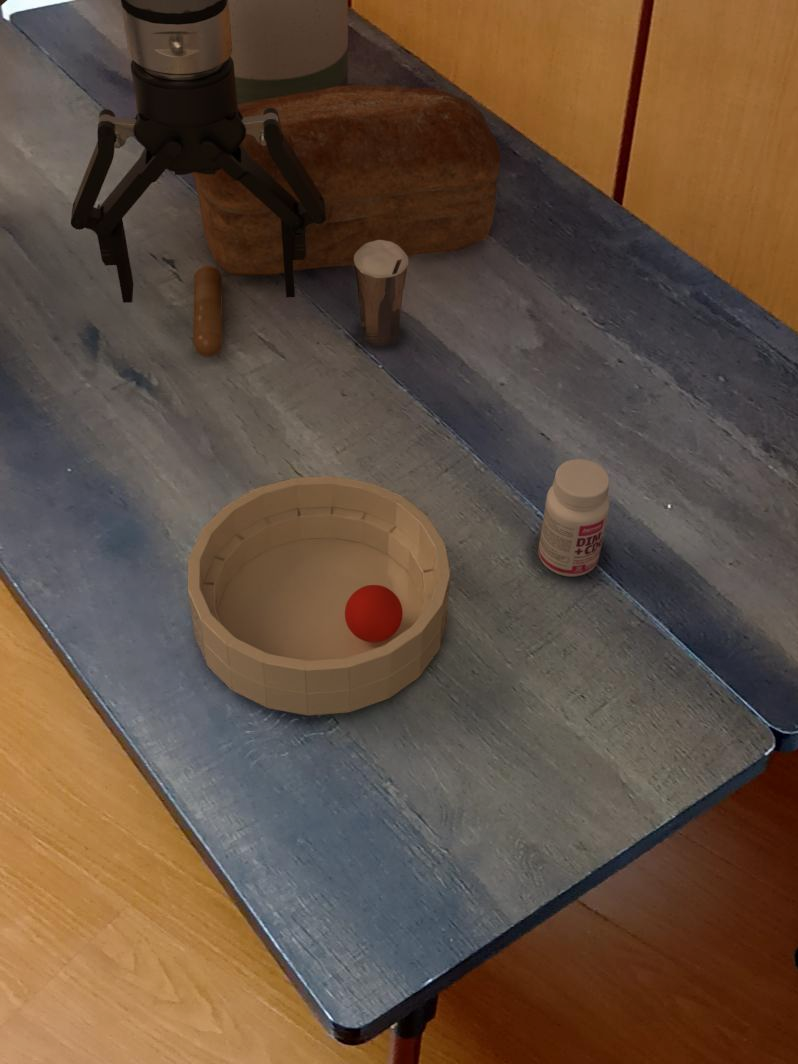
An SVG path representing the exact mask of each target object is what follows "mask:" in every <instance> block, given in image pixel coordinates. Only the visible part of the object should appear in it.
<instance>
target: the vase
mask: <svg viewBox="0 0 798 1064" xmlns="http://www.w3.org/2000/svg"><path fill="white" fill-rule="evenodd" d="M228 4H229V16H230V27H231V38H232V54H231V58H232V60H233V63H234V72H235V83H236V94H237V104H240V103H245V102H251V101H256V100H262V99H268V98H275V97H281V96H286V95H291V94H298V93H306V92H312V91H317V90H321V89H326V88H331V87H336V86H348V79H349V77H348V76H349V0H228Z"/></svg>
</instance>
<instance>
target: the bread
mask: <svg viewBox="0 0 798 1064" xmlns="http://www.w3.org/2000/svg"><path fill="white" fill-rule="evenodd" d="M237 105H238V109H239V111H240V113H241V115H242V116H243V117H251V116H260V115H263V112H264V110H266V109H267V108H274V109H276V110H277V112H278V114H279V119H280V124H281V129H282V133H283V135H284V136H285V138H286V140H287V141H288V143H289V144H290V146H291V148H292V149H293V151H294V152H295V154H296V156H297V157H298V159H299V160H300V162H301V163H302V165H303V167H304V168H305V170H306V171H307V173H308V175H309V176H310V178H311V179H312V181H313V183H314V184H315V186H316V187H317V189H318V190H319V192H320V194H321V195H322V197H323V198H324V201H325V211H326V220H325V222H323V223H322V224H316V223H311V224H309V225H308V226H307V227H306V228H305V242H306V256H305V259H304V260H293V272H296V271H303V270H311V269H320V268H328V267H337V266H338V267H339V266H340V267H341V266H355V264H354V255H355V253H356V252H357V251H358V250H359V249H360V248H361V247H362V246H363V245H364V244H366V243H368V242H373V241H376V240H385V241H390V242H393V243H395V244H396V245H398V246H399V247H400V248H401V249H402V250H403V251H404V252H405V253H406V255H407V257H408V256H416V255H422V254H432V253H433V254H435V253H446V252H448V253H449V252H453V251H456V250H457V251H458V250H461V249H464V248H468V247H471V246H474V245H476V244H479V243H481V242H483V241H484V240H486V239H487V238H488V237H489V233H490V229H491V226H492V222H493V219H494V218H493V217H494V213H495V204H496V195H497V194H496V193H497V184H498V179H499V173H500V164H501V150H500V146H499V144H498V141H497V139H496V137H495V136H494V133H493V132H492V129H491V128H490V126H489V124H488V122H487V120H486V119H485V116H484V115H483V112H482V111H481V110H480V109H479V108H477V107H476V105H474V104H473V103H472V102H471V101H469V100H467V99H465V98H463V97H462V96H461V97H460V96H458V95H455V94H454V93H450V92H447V91H444V90H441V89H438V88H435V87H426V88H425V87H424V88H416V87H415V88H414V87H408V86H403V85H402V86H401V85H400V86H399V85H395V86H394V85H372V86H371V85H356V84H355V85H347V86H336V87H331V88H326V89H321V90H317V91H312V92H306V93H298V94H291V95H286V96H281V97H275V98H268V99H262V100H256V101H251V102H245V103H240V104H237ZM240 145H241V146H242V147H244V149H245V150H246V151H247V153H248V155H249V156H250V157H251V158H252V159H253V160H254V161H255V162H256V163H257V164H258V165H259V166H260V167H262V168H263V169H264V170H265V171H266V172H267V173H268V174H269V175H270V176H271V177H272V178H273V179H274V180H275V181H276V182H278V183H279V184H280V185H281V186H282V187H283V188H284V189H285V190H286V191H287V192H288V193H289V194H290V195H291V196H293V197H294V198H295V199H296V200H297V201H298V202H299V203H300V204H301V202H300V201H299V199H298V198H297V196H296V195H295V193H294V192H293V190H292V189H291V187H290V185H289V184H288V182H287V181H286V179H285V178H284V176H283V175H282V173H281V172H280V170H279V168H278V167H277V165H276V164H275V162H274V161H273V159H272V157H271V156H270V153H269V151H268V148H267V145H266V146H262V145H261V144H259V143H258V142H257V141H256V139H255V137H254V136H252V135H248V134H247V135H246V136H245V138H244V140H243V141H242V143H241V144H240ZM191 174H192V176H193V179H194V182H195V186H196V192H197V198H198V206H199V211H200V218H201V222H202V224H201V225H202V228H203V229H202V230H203V233H204V237H205V241H206V245H207V247H208V249H209V251H210V253H211V255H212V257H213V259H214V261H215V263H216V265H217V266H218V267H220V268H222V269H223V270H224V271H226V272H227V273H229V274H230V275H235V276H252V277H253V276H254V277H255V276H256V277H257V276H259V277H260V276H273V275H279V274H285V272H284V258H283V244H282V229H281V219H280V218H279V217H278V216H277V215H276V214H275V213H273V212H272V211H271V210H270V209H269V208H268V207H267V206H266V205H265V204H264V203H262V202H261V201H260V200H259V199H258V198H257V197H256V196H255V195H254V194H253V193H251V192H250V191H249V190H248V189H247V188H246V187H245V186H244V185H243V184H242V183H241V182H239V181H235V180H234V179H232V178H231V177H230V176H229V175H228V174H227V173H226V172H225V171H224V170H222V169H220V170H218V171H215V174H201V173H196V172H193V173H191Z"/></svg>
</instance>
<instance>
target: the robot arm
mask: <svg viewBox="0 0 798 1064" xmlns="http://www.w3.org/2000/svg"><path fill="white" fill-rule="evenodd" d="M7 1H8V0H0V7H2V6H3V5H4V4H5V3H6V2H7ZM120 3H121V11H122V19H123V24H124V31H125V38H126V39H125V40H126V45H127V52H128V55H129V56H130V58H131V63H130V72H131V77H132V84H133V91H134V99H135V105H136V110H137V112H136V115H135V117H134V118H133V117H121V116H116V114H115V112H114V111H112V110H111V109H107V108H105V109H102V110H101V111H99V114H98V121H97V123H98V124H97V132H96V133H97V134H96V135H97V141H96V144H95V147H94V150H93V152H92V154H91V157H90V160H89V162H88V165H87V166H86V170H85V172H84V174H83V177H82V180H81V182H80V185H79V187H78V190H77V193H76V195H75V198H74V200H73V203H72V208H71V215H70V226H71V227H72V228H73V229H74V230H79V231H81V230H84V229H88V230H91V231H93V232H94V233H95V234H96V236H97V237H96V238H97V241H98V247H99V251H100V252H99V253H100V257H101V261H102V263H103V264H104V266H107V267H108V266H115V267H116V271H117V277H118V282H119V283H118V284H119V289H120V293H121V294H120V295H121V299H122V303H123V304H128V303H129V304H131V303H133V297H134V278H133V272H132V266H131V261H130V255H129V249H128V248H129V247H128V244H127V243H128V242H127V237H126V230H125V226H124V225H125V224H124V219H123V218H124V217H125V216H126V215H127V213H128V212H129V211H130V210H131V208H132V207H133V206H134V205H135V204H136V203H137V202H138V200H139V199H140V198H141V197H142V195H143V194H144V193H145V192H146V191H147V189H148V188H149V187H150V186H151V185H152V183H155V182H157V181H158V179H160V177H161V176H162V175H163V174H164V172H165V171H166V170H168V171H170V172H173V173H174V175H175V176H187V175H189V174H192V173H193V172H196V173H201V174H215V171H218V170H220V169H222V170H224V171H225V172H226V173H227V174H228V175H229V176H230V177H231V178H232V179H234V180H235V181H239V182H241V183H242V184H243V185H244V186H245V187H246V188H247V189H248V190H249V191H250V192H251V193H253V194H254V195H255V196H256V197H257V198H258V199H259V200H260V201H261V202H262V203H264V204H265V205H266V206H267V207H268V208H269V209H270V210H271V211H272V212H273V213H275V214H276V215H277V216H278V217H279V218H280V219H281V229H282V244H283V258H284V285H285V286H284V287H285V297H286V299H287V298H296V291H295V288H296V287H295V276H294V273H295V272H294V271H293V260H304V259H305V256H306V242H305V228H306V227H307V226H308V225H309V224H311V223H316V224H322V223H323V222H325V220H326V211H325V201H324V198H323V197H322V195H321V194H320V192H319V190H318V189H317V187H316V186H315V184H314V183H313V181H312V179H311V178H310V176H309V175H308V173H307V171H306V170H305V168H304V167H303V165H302V163H301V162H300V160H299V159H298V157H297V156H296V154H295V152H294V151H293V149H292V148H291V146H290V144H289V143H288V141H287V140H286V138H285V136H284V135H283V133H282V129H281V124H280V119H279V114H278V112H277V110H276V109H274V108H267V109H266V110H264V112H263V115H260V116H251V117H243V116H242V115H241V113H240V111H239V109H238V105H237V94H236V83H235V72H234V63H233V60H232V58H231V54H232V38H231V27H230V16H229V4H228V0H120ZM247 134H248V135H252V136H254V137H255V139H256V141H257V142H258V143H259V144H261V145H262V146H266V145H267V148H268V151H269V153H270V156H271V157H272V159H273V161H274V162H275V164H276V165H277V167H278V168H279V170H280V172H281V173H282V175H283V176H284V178H285V179H286V181H287V182H288V184H289V185H290V187H291V189H292V190H293V192H294V193H295V195H296V196H297V198H298V199H299V201H300V202H301V204H300V203H299V202H298V201H297V200H296V199H295V198H294V197H293V196H291V195H290V194H289V193H288V192H287V191H286V190H285V189H284V188H283V187H282V186H281V185H280V184H279V183H278V182H276V181H275V180H274V179H273V178H272V177H271V176H270V175H269V174H268V173H267V172H266V171H265V170H264V169H263V168H262V167H260V166H259V165H258V164H257V163H256V162H255V161H254V160H253V159H252V158H251V157H250V156H249V155H248V153H247V151H246V150H245V149H244V147H242V146H241V145H240V144H241V143H242V141H243V140H244V138H245V136H246V135H247ZM131 137H134V138H135V139H136V141H137V142H138V143H139V144H140V145H141V146H142V147H143V148H144V149H143V151H142V152H141V155H140V156H139V158H138V159H137V161H136V162H135V163H134V164H133V165H132V166H131V168H130V169H129V170H128V172H127V173H126V174H125V175H124V177H122V179H121V180H120V181H119V183H117V185H116V186H115V187H114V188H113V190H112V191H111V192H110V194H109V195H108V196H107V197H106V198H105V199H104V201H103V202H102V203H101V204H100V203H98V204H97V207H95V205H96V203H97V201H98V198H99V195H100V192H101V190H102V188H103V185H104V182H105V180H106V178H107V176H108V173H109V171H110V168H111V165H112V163H113V161H114V156H115V150H116V149H120V148H122V147H124V146H125V144H126V143H127V139H128V138H131Z"/></svg>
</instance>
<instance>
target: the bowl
mask: <svg viewBox="0 0 798 1064" xmlns="http://www.w3.org/2000/svg"><path fill="white" fill-rule="evenodd" d="M193 545H194V546H193V548H192V550H191V552H190V554H189V557H188V560H187V595H188V601H189V607H190V612H191V613H190V614H191V621H192V627H193V634H194V635H193V636H194V638H195V640H196V643H197V645H198V648H199V650H200V652H201V655H202V657H203V659H204V661H205V664H206V665H207V667H208V668H209V669H210V670H211V672H213V673H214V674H215V675H216V676H217V678H219V679H220V681H222V682H223V683H224V684H225V685H226V686H227V687H228V688H229V689H230V690H231V691H233V692H235V693H236V694H238V695H240V696H243V697H244V698H246V699H249V700H251V701H253V702H254V703H257V704H259V705H260V706H262V707H264V708H267V709H270V710H275V711H281V712H286V713H291V714H297V715H303V716H320V715H332V714H345V713H350V712H354V711H358V710H361V709H363V708H366V707H369V706H372V705H375V704H378V703H380V702H383V701H386V700H388V699H390V698H392V697H393V696H395V695H396V694H398V693H399V692H400V691H402V690H403V689H405V688H406V687H407V686H409V685H410V684H412V683H413V682H414V681H416V680H417V679H419V677H420V676H421V675H422V674H423V672H424V671H425V670H426V668H427V667H428V666H429V664H430V663H431V661H432V660H433V658H434V657H435V656H436V654H437V653H438V652H439V650H440V648H441V646H442V645H441V644H442V641H443V637H444V633H445V629H446V625H447V622H448V610H449V600H450V599H449V598H450V584H451V570H450V564H449V557H448V550H447V545H446V543H445V542H444V540H443V537H442V536H441V535H440V533H439V532H438V529H437V528H436V527H435V525H434V524H433V522H432V520H431V519H430V517H429V516H428V515H426V514H425V513H424V512H423V511H421V510H420V509H419V508H418V507H417V506H415V505H414V504H413V503H411V502H410V501H409V500H408V499H407V498H405V496H403V495H400V494H398V493H396V492H393V491H391V490H389V489H387V488H385V487H382V486H380V485H378V484H375V483H373V482H369V481H364V480H358V479H354V478H353V479H352V478H347V477H342V476H337V475H336V476H335V475H334V476H333V475H321V476H301V477H300V476H299V477H297V476H296V477H292V478H287V479H285V480H281V481H277V482H273V483H270V484H265V485H262V486H259V487H256V488H253V490H250V491H249V492H247V493H245V494H243V495H241V496H240V497H238V498H236V499H234V500H232V501H231V502H229V503H226V505H224V506H223V507H222V508H221V509H220V510H219V511H218V512H217V513H216V515H214V516H213V517H212V518H211V519H210V520H209V521H208V523H207V524H205V526H204V527H202V528H201V530H200V532H199V534H198V536H197V538H196V541H195V543H194V544H193ZM368 585H380V586H384V587H386V588H388V589H390V590H391V591H392V592H393V593H395V595H396V596H397V597H398V599H399V601H400V603H401V606H402V612H403V615H402V621H401V624H400V626H399V628H398V630H397V631H396V632H395V633H394V634H393V635H392V636H391V637H390V638H388V639H386V640H384V641H380V642H366V641H363V640H361V639H359V638H357V637H356V636H355V635H354V634H353V633H352V632H351V631H350V630H349V628H348V626H347V623H346V620H345V607H346V604H347V602H348V600H349V598H350V597H351V595H352V594H353V593H354V592H355V591H357V590H358V589H360V588H362V587H364V586H368Z"/></svg>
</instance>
